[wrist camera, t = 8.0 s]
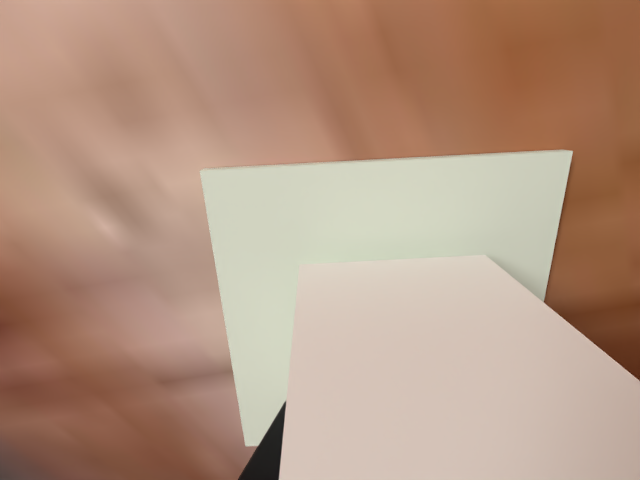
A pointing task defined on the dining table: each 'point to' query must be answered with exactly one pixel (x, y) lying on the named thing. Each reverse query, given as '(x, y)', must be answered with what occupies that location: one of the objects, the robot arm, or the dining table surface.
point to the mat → (363, 238)
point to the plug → (448, 380)
